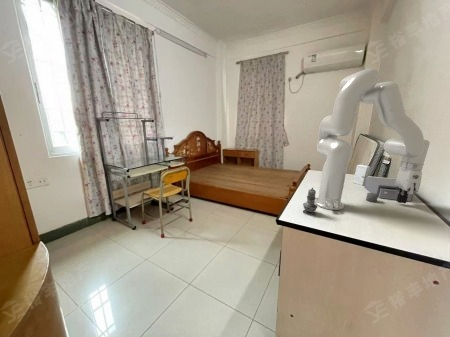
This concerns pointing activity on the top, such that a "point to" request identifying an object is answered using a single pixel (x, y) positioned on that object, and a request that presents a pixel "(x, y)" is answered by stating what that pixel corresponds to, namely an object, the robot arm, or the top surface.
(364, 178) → the skincare box
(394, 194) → the grey drawer
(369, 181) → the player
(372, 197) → the puck
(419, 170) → the robot arm
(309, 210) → the grey stone pagoda
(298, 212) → the top surface
